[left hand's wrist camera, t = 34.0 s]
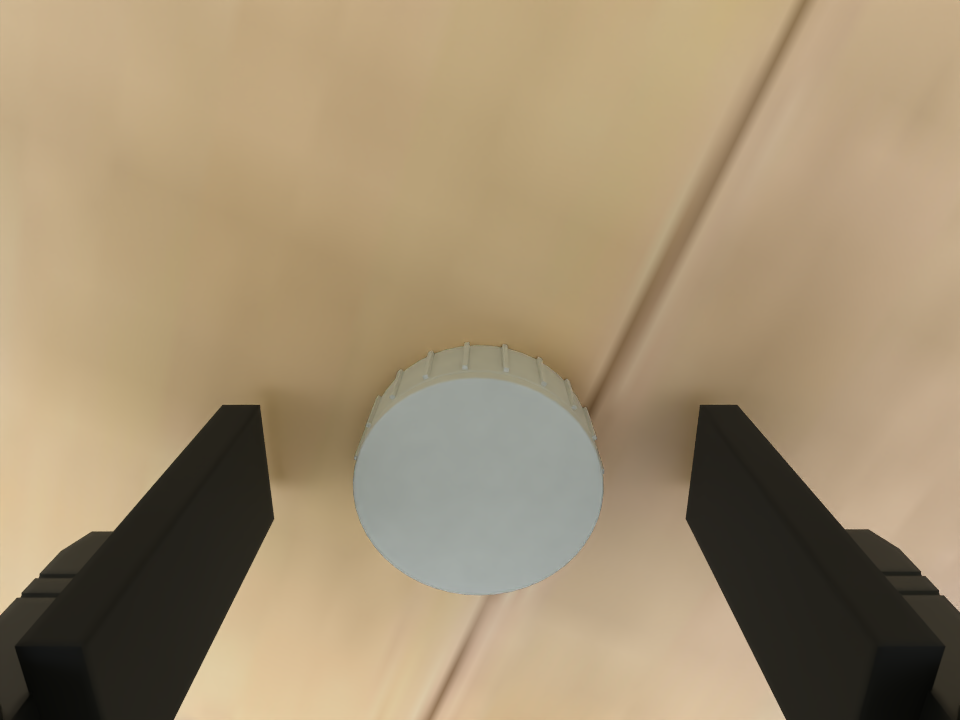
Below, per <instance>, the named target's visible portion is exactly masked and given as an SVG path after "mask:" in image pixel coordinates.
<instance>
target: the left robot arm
mask: <svg viewBox="0 0 960 720" xmlns="http://www.w3.org/2000/svg"><path fill="white" fill-rule="evenodd" d="M273 520H274V514H273V506H272V498H271V490H270V482H269V474H268V466H267V458H266V450H265V442H264V435H263V427H262V419H261V411H260V405H222V406H221V408H220V409H219V410H218V411H217V412H216V413H215V414H214V416H213V417H212V418H211V419H210V420H209V421H208V423H207V424H206V425H205V426H204V427H203V428H202V430H201V431H200V432H199V433H198V434H197V435H196V436H195V438H194V439H193V440H192V441H191V442H190V443H189V445H188V446H187V447H186V448H185V449H184V450H183V452H182V453H181V454H180V455H179V456H178V457H177V458H176V460H175V461H174V462H173V463H172V464H171V465H170V467H169V468H168V469H167V470H166V471H165V472H164V474H163V475H162V476H161V477H160V478H159V479H158V480H157V482H156V483H155V484H154V485H153V486H152V487H151V489H150V490H149V491H148V492H147V493H146V494H145V496H144V497H143V498H142V499H141V500H140V501H139V502H138V504H137V505H136V506H135V507H134V508H133V509H132V511H131V512H130V513H129V514H128V515H127V516H126V518H125V519H124V520H123V521H122V522H121V523H120V524H119V526H118V527H117V528H116V529H115V530H114V531H113V532H91V533H89V534H87V535H86V536H84V537H83V538H81V539H79V540H78V541H76V542H75V543H73V544H72V545H70V546H68V547H67V548H65V549H64V550H62V551H61V552H60V553H59V554H58V555H57V556H56V557H55V558H54V559H53V560H52V561H51V562H50V563H49V564H48V565H47V566H46V568H45V569H44V570H43V571H42V572H41V573H40V576H39V578H35V579H34V580H33V581H32V582H31V583H30V585H29V586H28V587H27V588H26V589H25V590H24V591H23V592H22V596H21V598H16V599H15V600H14V601H13V603H12V604H11V605H10V606H9V607H8V608H7V609H6V610H5V611H4V612H3V613H2V614H1V615H0V720H174V718H175V716H176V714H177V712H178V710H179V708H180V706H181V704H182V702H183V700H184V698H185V696H186V694H187V692H188V690H189V688H190V686H191V684H192V682H193V680H194V678H195V676H196V674H197V672H198V670H199V668H200V666H201V664H202V662H203V660H204V658H205V656H206V654H207V652H208V650H209V648H210V646H211V644H212V642H213V640H214V638H215V636H216V634H217V632H218V630H219V628H220V626H221V624H222V622H223V620H224V618H225V616H226V614H227V612H228V610H229V608H230V606H231V604H232V602H233V600H234V598H235V596H236V594H237V592H238V590H239V588H240V586H241V584H242V582H243V580H244V578H245V576H246V574H247V572H248V570H249V568H250V566H251V564H252V562H253V560H254V558H255V556H256V554H257V552H258V550H259V548H260V546H261V544H262V542H263V540H264V538H265V536H266V534H267V532H268V530H269V528H270V526H271V524H272V522H273ZM686 520H687V522H688V524H689V526H690V528H691V530H692V532H693V534H694V536H695V538H696V540H697V542H698V544H699V546H700V548H701V550H702V552H703V554H704V556H705V558H706V560H707V562H708V564H709V566H710V568H711V570H712V572H713V574H714V576H715V578H716V580H717V582H718V584H719V586H720V588H721V590H722V592H723V594H724V596H725V598H726V600H727V602H728V604H729V606H730V608H731V610H732V612H733V614H734V616H735V618H736V620H737V622H738V624H739V626H740V628H741V630H742V632H743V634H744V636H745V638H746V640H747V642H748V644H749V646H750V648H751V650H752V652H753V654H754V656H755V658H756V660H757V662H758V664H759V666H760V668H761V670H762V672H763V674H764V676H765V678H766V680H767V682H768V684H769V686H770V688H771V690H772V692H773V694H774V696H775V698H776V700H777V702H778V704H779V706H780V708H781V710H782V712H783V714H784V716H785V718H786V720H960V612H959V611H958V610H957V609H956V608H955V607H954V606H953V605H952V604H951V603H950V602H949V601H948V600H947V598H946V597H945V596H944V595H940V594H939V590H938V589H937V588H936V587H935V586H934V585H933V584H932V583H931V582H930V581H929V579H928V578H927V577H926V576H922V575H921V571H920V570H919V569H918V568H917V567H916V566H915V565H914V564H913V563H912V562H911V561H910V559H909V558H908V557H907V556H906V555H905V554H904V553H903V552H902V551H901V550H900V549H899V548H897V547H896V546H894V545H892V544H891V543H889V542H888V541H886V540H884V539H883V538H881V537H880V536H878V535H876V534H875V533H873V532H872V531H870V530H868V529H844V528H843V527H842V526H841V525H840V523H839V522H838V521H837V520H836V519H835V518H834V516H833V515H832V514H831V513H830V512H829V511H828V510H827V508H826V507H825V506H824V505H823V504H822V503H821V501H820V500H819V499H818V498H817V497H816V496H815V494H814V493H813V492H812V491H811V490H810V489H809V488H808V486H807V485H806V484H805V483H804V482H803V481H802V479H801V478H800V477H799V476H798V475H797V474H796V472H795V471H794V470H793V469H792V468H791V467H790V466H789V464H788V463H787V462H786V461H785V460H784V459H783V457H782V456H781V455H780V454H779V453H778V452H777V450H776V449H775V448H774V447H773V446H772V445H771V444H770V442H769V441H768V440H767V439H766V438H765V437H764V435H763V434H762V433H761V432H760V431H759V430H758V428H757V427H756V426H755V425H754V424H753V423H752V422H751V420H750V419H749V418H748V417H747V416H746V415H745V413H744V412H743V411H742V410H741V409H740V408H739V406H738V405H700V410H699V418H698V426H697V434H696V442H695V450H694V457H693V465H692V473H691V481H690V489H689V497H688V505H687V513H686Z"/></svg>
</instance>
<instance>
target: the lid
mask: <svg viewBox="0 0 960 720" xmlns="http://www.w3.org/2000/svg"><path fill="white" fill-rule="evenodd" d="M595 440H597V437H596V434H595V431H594V428H593V425H592V422H591V419H590V416H589V413H588V410H587V407H584V408H582V406H581V404H580V402H579V400H578V398H577V396H576V395H575V393H574V392H573V390H572V387H571V384H570V381H569V380H568V379H565V380H563V379H562V378H561V377H560V376H559V375H558V374H557V373H556V372H554V371H553V370H552V369H551V368H549V367H548V366H547V365H545V364H543V361H542V358H540V357H537V359H535V358H533V357H530V356H528V355H526V354H524V353H521V352H518V351H515V350H511V349H508V347H507V345H505V344H502V347H496V346H485V345H472V346H470V343H469V342H465V343H464V346H461V347H456V348H451V349H446V350H443V351H440V352H438V353H435V354H434V352H433V351H430V352H428V355H427V357H426V358H424V359H422V360H420V361H418V362H416V363H415V364H413V365H412V366H410V367H409V368H407V369H406V370H405V371H403V370H402V369H400V370H399V371H398V372H397V375H396V378H395V380H394V381H393V382H392V383H391V385H390V386H389V387H388V388H387V389H386V391H385V392H384V394H383V395H382V397H381V396H379V395H378V396H377V398H376V400H375V403H374V405H373V408H372V410H371V413H370V416H369V418H368V421H367V423H366V427H365V430H364V433H363V435H362V438H361V440H360V443H359V446H358V448H357V451H356V453H355V457H354V460H356V464H355V468H354V476H353V495H354V501H355V507H356V510H357V513H358V516H359V519H360V522H361V524H362V526H363V528H364V530H365V532H366V534H367V536H368V538H369V539H370V541H371V542H372V543H373V545H374V546H375V548H376V549H377V550H378V551H379V552H380V553H381V554H382V556H383V557H384V558H385V559H386V560H388V561H389V562H390V563H391V564H392V565H393V566H394V567H396V568H397V569H398V570H400V571H401V572H403V573H404V574H406V575H407V576H409V577H411V578H413V579H415V580H417V581H419V582H421V583H423V584H425V585H428V586H431V587H433V588H436V589H440V590H444V591H447V592H452V593H458V594H465V595H492V594H500V593H506V592H512V591H515V590H519V589H522V588H526V587H528V586H530V585H533V584H535V583H538V582H540V581H542V580H544V579H545V578H547V577H549V576H551V575H553V574H554V573H555V572H557V571H558V570H560V569H561V568H562V567H564V566H565V565H566V564H567V563H568V562H569V561H570V560H571V559H572V558H574V557H575V556H576V554H577V553H578V552H579V551H580V550H581V548H582V547H583V546H584V545H585V543H586V541H587V540H588V538H589V537H590V535H591V533H592V531H593V529H594V527H595V525H596V522H597V520H598V517H599V514H600V510H601V506H602V500H603V492H604V491H603V474H604V468H603V465H602V462H601V459H600V455H599V452H598V449H597V446H596V443H595Z"/></svg>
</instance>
